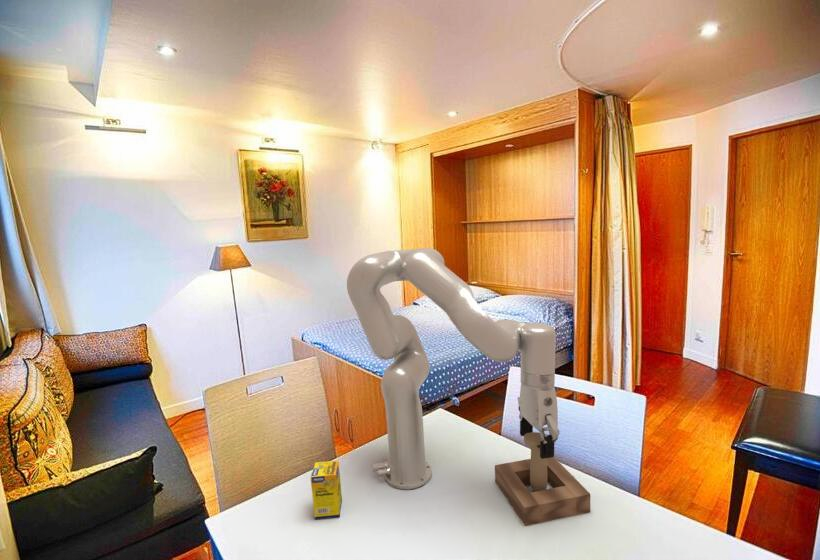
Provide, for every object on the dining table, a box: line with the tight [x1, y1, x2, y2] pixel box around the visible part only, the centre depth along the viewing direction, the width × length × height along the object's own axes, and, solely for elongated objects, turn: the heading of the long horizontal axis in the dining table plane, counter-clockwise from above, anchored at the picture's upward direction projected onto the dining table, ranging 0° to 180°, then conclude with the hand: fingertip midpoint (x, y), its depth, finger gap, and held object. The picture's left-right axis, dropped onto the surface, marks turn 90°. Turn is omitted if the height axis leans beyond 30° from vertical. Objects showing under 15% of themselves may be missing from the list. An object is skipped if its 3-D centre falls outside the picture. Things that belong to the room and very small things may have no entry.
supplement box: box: [310, 460, 343, 521], centre depth 96 cm, size 6×6×11 cm
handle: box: [523, 431, 549, 493], centre depth 97 cm, size 5×6×15 cm
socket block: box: [494, 456, 591, 527], centre depth 97 cm, size 16×16×4 cm
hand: (536, 445), depth 96 cm, fingers open, 9 cm apart
